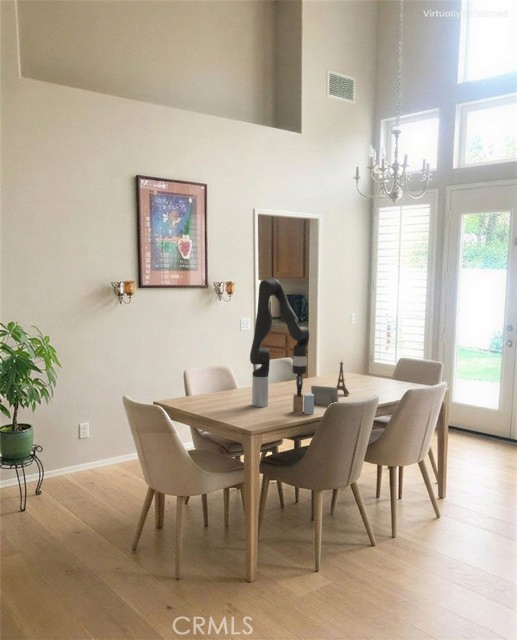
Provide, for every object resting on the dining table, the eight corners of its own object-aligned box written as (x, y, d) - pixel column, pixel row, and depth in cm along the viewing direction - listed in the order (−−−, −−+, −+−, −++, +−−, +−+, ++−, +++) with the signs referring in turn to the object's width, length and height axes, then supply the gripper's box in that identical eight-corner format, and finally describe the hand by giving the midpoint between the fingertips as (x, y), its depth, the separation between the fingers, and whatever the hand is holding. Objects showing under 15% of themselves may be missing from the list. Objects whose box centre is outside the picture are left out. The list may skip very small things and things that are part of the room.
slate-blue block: (303, 411, 308) (304, 393, 308) (312, 411, 308) (313, 393, 308) (304, 413, 303) (305, 395, 303) (313, 413, 303) (314, 395, 303)
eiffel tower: (349, 393, 361) (350, 355, 359) (348, 396, 351) (349, 357, 349) (333, 392, 364) (334, 354, 362) (331, 395, 354) (332, 356, 352)
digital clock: (339, 404, 329) (340, 386, 328) (333, 407, 321) (333, 388, 320) (315, 400, 338) (315, 383, 337) (308, 403, 330) (308, 385, 329)
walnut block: (293, 411, 308) (293, 393, 308) (302, 411, 308) (302, 393, 308) (293, 413, 303) (294, 395, 303) (302, 413, 303) (303, 395, 303)
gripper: (292, 362, 302) (291, 394, 303) (293, 366, 289) (292, 398, 290) (305, 362, 302) (305, 394, 303) (307, 366, 289) (307, 399, 290)
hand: (299, 396), depth 296 cm, fingers closed
